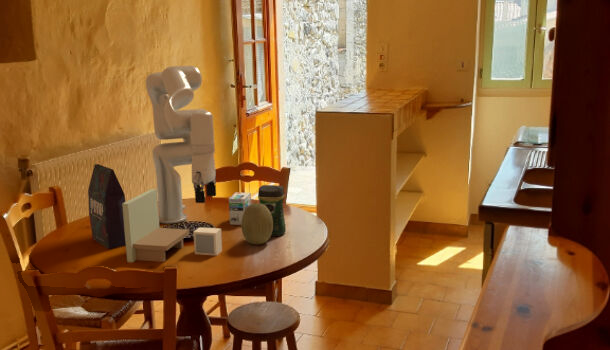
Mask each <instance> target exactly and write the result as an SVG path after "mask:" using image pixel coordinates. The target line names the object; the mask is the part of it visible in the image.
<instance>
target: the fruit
mask: <svg viewBox="0 0 610 350" xmlns="http://www.w3.org/2000/svg"><path fill="white" fill-rule="evenodd" d="M240 226H241V232H242V236H243V237H244V239H245V241H247V242H248V243H250V244H252V245H255V246H257V245H262V244H264V243H266V242H267V241H268V240H269V239H270V238H271V237H272V236H271V234H272V231H273V218H272V215H271V213H270V211H269V209H268V208H267V207H266V206H265V205H263V204H261V203H260V202H253V203H251V204H250V205H249V206H248V207H247V208H246V209H245V211H244V213H243V217H242V222H241V225H240Z"/></svg>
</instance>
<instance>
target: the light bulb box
mask: <svg viewBox="0 0 610 350" xmlns="http://www.w3.org/2000/svg"><path fill="white" fill-rule="evenodd" d="M250 204H252V193H251V192H240V191H239V192H237V191H236V192H234V193H233V194H232V196H230V197H229V198H228V212H229V224H230V225H233V226H234V225H239V226H241V222H242V217H243V213H244V211H245V209H246V208H247V207H248V206H249V205H250Z"/></svg>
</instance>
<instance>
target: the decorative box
mask: <svg viewBox="0 0 610 350" xmlns="http://www.w3.org/2000/svg"><path fill="white" fill-rule="evenodd" d="M87 188H88V190H87V198H88V214H89V215H88V218H89V223H90V229H91V234H92V240H94V241H96V242H97V243H99V244H100V245H102V246H104V247H105V248H107V249H109V250H110V249H115V248H119V247H122V246H126V241H125V229H124V217H123V205H122V204H123V203H125V202H126V195H125V192H124V189H123V187H122V185H121V184H120V181H119V179H118V177H117V175H116V172H115V170H114V169H113V168H110V167H106V166H104V165H101V164H99V163H95V164H94V165H93V168H92V173H91V177H90V181H89V185H88V187H87Z"/></svg>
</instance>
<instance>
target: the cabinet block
mask: <svg viewBox="0 0 610 350" xmlns="http://www.w3.org/2000/svg"><path fill="white" fill-rule="evenodd" d="M222 240H223V239H222V228H214V227H198V228H196V229H195V230H194V231H193V245H194V246H193V247H194V255H204V256H218V255H219V254H220V253H221V252H223V242H222Z"/></svg>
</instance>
